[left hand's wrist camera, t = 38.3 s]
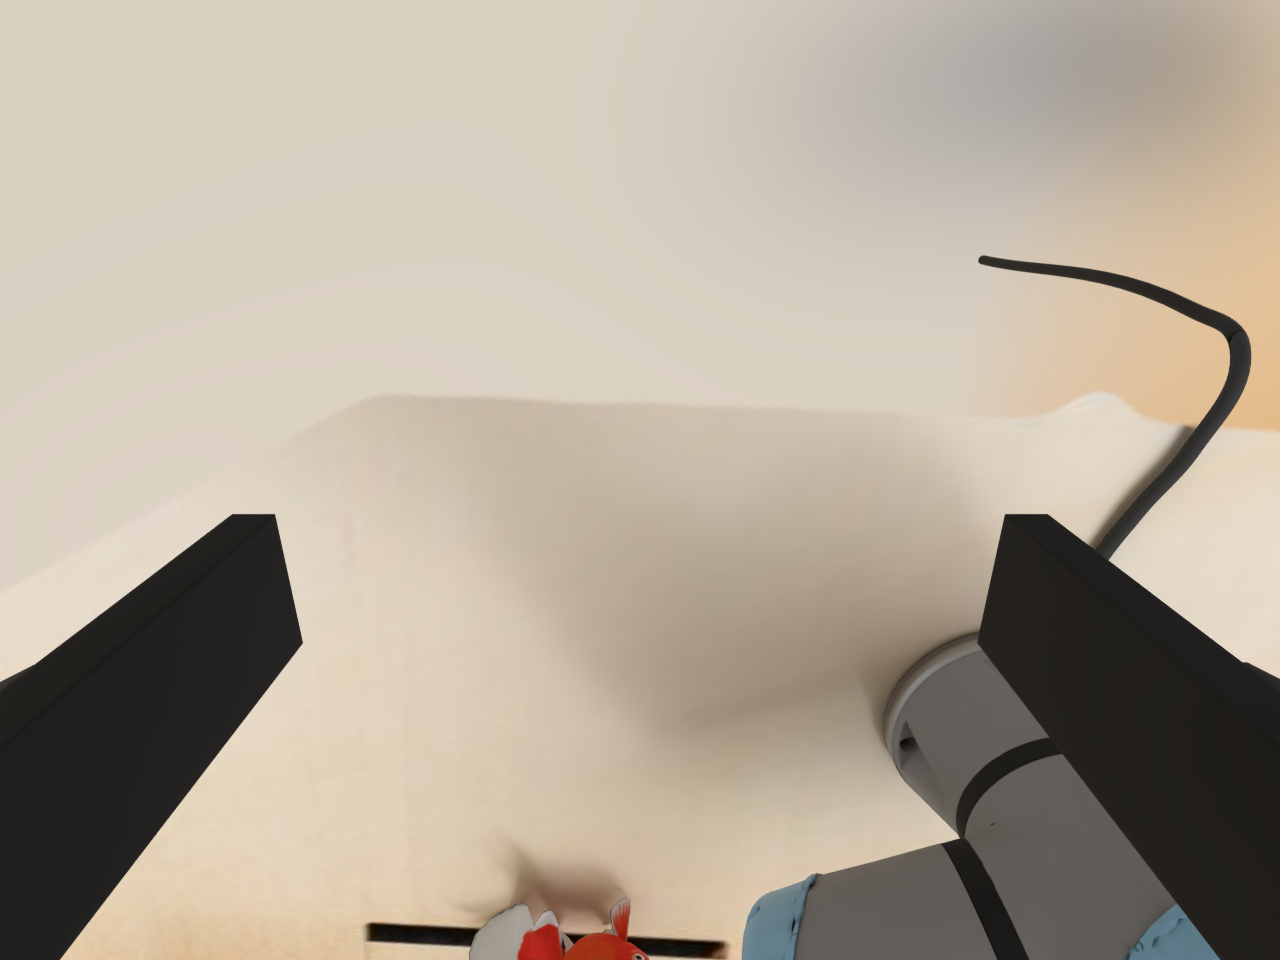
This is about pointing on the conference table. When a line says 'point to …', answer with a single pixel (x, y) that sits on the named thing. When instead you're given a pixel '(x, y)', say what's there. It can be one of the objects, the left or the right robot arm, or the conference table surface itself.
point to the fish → (551, 938)
